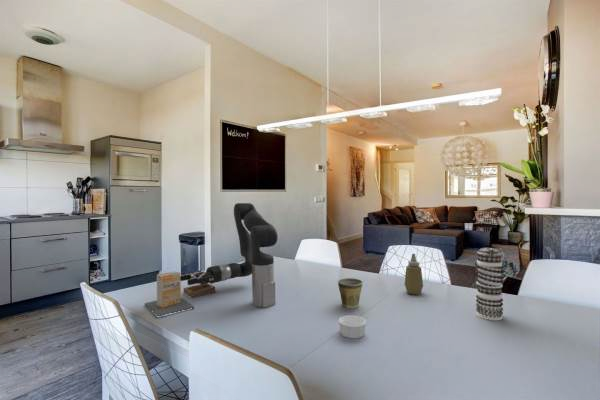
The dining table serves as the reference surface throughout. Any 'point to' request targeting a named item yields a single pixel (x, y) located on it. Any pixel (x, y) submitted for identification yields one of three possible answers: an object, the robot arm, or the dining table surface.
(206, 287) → the cradle
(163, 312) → the slate mat
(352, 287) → the ceramic cup
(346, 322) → the ramekin
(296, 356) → the dining table surface
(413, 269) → the squeeze bottle
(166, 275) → the supplement box
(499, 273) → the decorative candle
